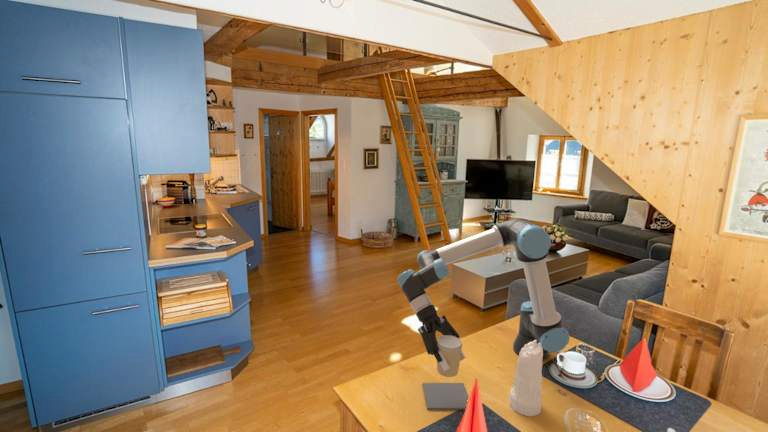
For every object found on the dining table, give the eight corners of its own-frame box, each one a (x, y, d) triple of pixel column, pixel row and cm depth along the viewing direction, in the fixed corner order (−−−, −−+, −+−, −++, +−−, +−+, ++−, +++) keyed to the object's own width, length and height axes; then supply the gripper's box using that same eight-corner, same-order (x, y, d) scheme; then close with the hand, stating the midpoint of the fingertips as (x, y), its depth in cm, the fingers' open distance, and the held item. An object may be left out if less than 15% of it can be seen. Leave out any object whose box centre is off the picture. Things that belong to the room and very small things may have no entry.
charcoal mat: (463, 384, 155) (463, 382, 154) (471, 409, 141) (472, 407, 141) (422, 384, 154) (422, 382, 154) (427, 409, 140) (427, 407, 140)
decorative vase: (525, 420, 136) (532, 355, 131) (503, 401, 146) (509, 339, 140) (547, 410, 141) (555, 347, 136) (524, 392, 151) (531, 333, 145)
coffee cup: (459, 364, 149) (461, 335, 147) (461, 379, 140) (463, 349, 138) (434, 362, 150) (436, 333, 148) (435, 377, 141) (436, 347, 139)
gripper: (436, 304, 160) (466, 356, 152) (398, 321, 145) (429, 379, 137) (447, 296, 155) (479, 349, 147) (409, 312, 140) (442, 373, 132)
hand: (455, 364), depth 142 cm, fingers closed on coffee cup, 9 cm apart
